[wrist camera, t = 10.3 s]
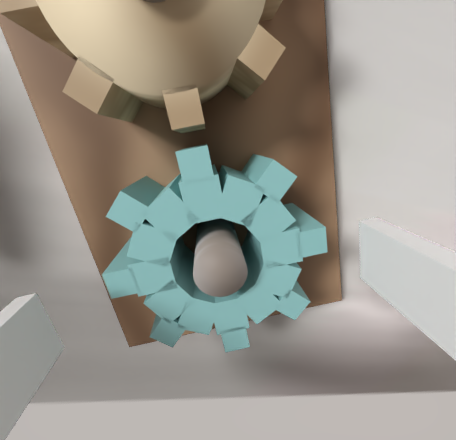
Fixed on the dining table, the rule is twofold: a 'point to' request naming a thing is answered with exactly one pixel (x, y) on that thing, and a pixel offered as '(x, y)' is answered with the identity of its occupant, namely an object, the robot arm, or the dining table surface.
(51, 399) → the dining table surface
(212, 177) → the teal gear
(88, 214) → the gear board
